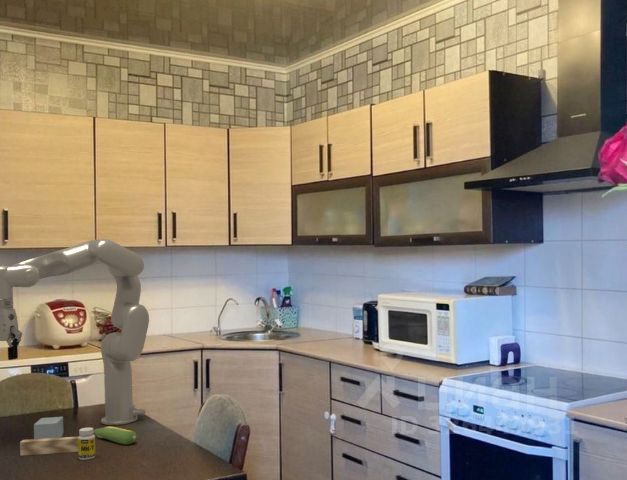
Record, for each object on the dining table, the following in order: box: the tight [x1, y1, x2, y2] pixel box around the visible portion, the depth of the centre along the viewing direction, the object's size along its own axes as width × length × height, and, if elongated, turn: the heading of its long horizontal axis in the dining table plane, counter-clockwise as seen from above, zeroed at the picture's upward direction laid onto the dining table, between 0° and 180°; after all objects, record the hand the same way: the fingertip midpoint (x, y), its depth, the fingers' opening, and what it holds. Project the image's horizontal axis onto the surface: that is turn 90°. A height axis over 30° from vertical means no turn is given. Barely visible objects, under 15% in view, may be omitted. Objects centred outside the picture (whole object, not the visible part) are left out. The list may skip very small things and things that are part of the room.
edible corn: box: [93, 425, 137, 446], centre depth 219 cm, size 5×20×5 cm, turn 52°
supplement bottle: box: [77, 427, 96, 461], centre depth 201 cm, size 5×5×8 cm
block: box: [33, 416, 65, 439], centre depth 224 cm, size 7×9×6 cm
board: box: [19, 436, 79, 457], centre depth 208 cm, size 20×2×4 cm, turn 96°
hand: (2, 358), depth 216 cm, fingers open, 9 cm apart
